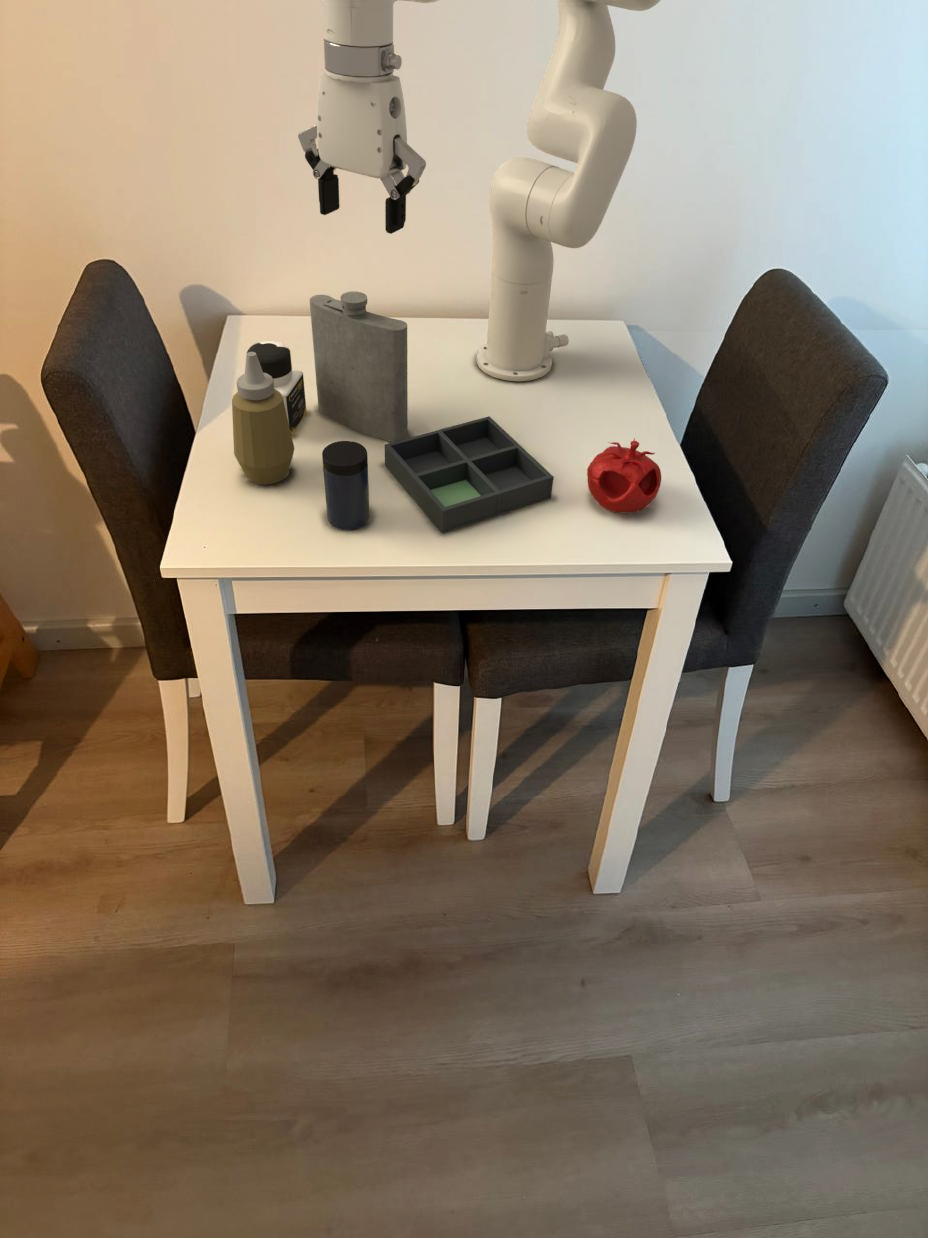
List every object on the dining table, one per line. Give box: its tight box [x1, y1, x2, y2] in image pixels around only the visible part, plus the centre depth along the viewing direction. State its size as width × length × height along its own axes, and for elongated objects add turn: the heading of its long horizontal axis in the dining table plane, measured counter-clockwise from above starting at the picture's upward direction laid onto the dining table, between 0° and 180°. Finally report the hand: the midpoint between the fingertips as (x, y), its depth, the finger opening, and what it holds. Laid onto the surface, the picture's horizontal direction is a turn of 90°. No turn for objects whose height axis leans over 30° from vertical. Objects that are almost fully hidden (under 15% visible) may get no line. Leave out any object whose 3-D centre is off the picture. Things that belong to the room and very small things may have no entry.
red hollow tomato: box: [586, 437, 662, 514], centre depth 120 cm, size 10×10×9 cm
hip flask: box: [309, 291, 409, 442], centre depth 127 cm, size 16×4×20 cm, turn 58°
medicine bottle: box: [246, 340, 307, 436], centre depth 129 cm, size 7×7×12 cm
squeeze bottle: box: [231, 352, 295, 485], centre depth 118 cm, size 8×8×18 cm
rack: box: [383, 415, 555, 534], centre depth 123 cm, size 17×17×4 cm
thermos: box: [321, 440, 371, 531], centre depth 114 cm, size 6×6×10 cm
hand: (362, 220), depth 109 cm, fingers open, 9 cm apart
